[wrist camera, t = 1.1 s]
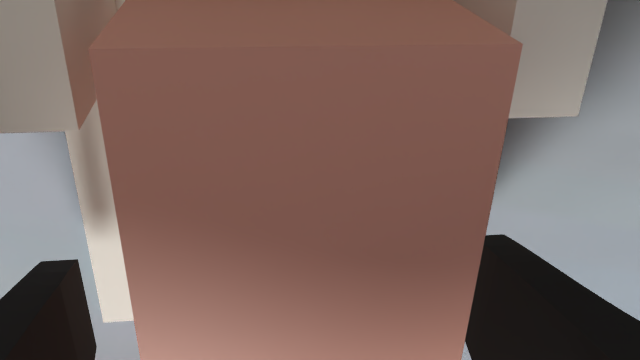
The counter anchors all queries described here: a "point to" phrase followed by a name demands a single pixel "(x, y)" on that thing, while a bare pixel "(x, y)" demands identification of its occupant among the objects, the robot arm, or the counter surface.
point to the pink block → (302, 173)
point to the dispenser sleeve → (84, 121)
